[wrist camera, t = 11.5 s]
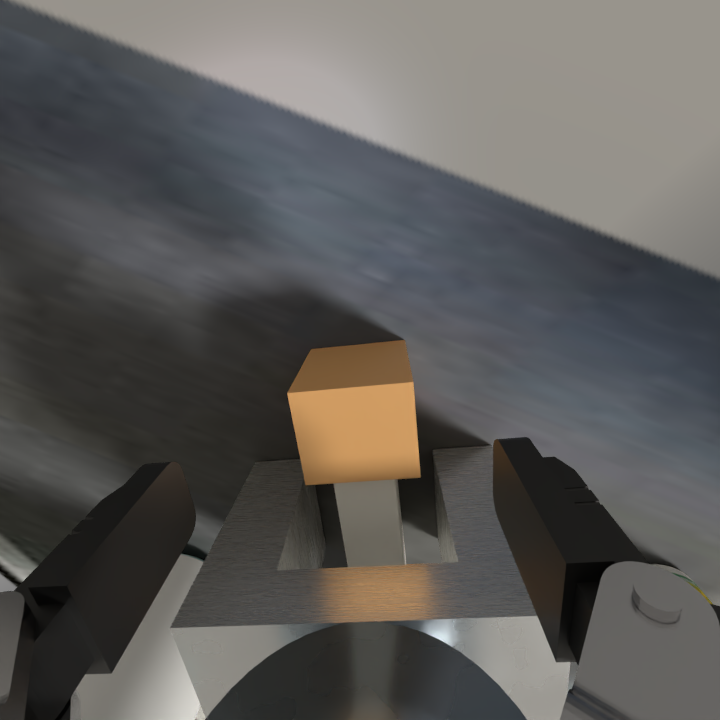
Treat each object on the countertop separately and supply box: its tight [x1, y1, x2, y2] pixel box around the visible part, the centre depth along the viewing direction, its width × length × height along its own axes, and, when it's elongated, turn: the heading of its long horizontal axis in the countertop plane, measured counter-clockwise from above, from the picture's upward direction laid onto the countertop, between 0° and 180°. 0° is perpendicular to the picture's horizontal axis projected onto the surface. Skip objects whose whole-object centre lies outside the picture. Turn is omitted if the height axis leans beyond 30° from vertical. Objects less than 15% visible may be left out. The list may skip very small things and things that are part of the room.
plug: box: [287, 340, 421, 567], centre depth 19 cm, size 4×20×5 cm, turn 7°
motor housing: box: [170, 445, 570, 720], centre depth 13 cm, size 12×6×18 cm, turn 97°
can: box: [76, 554, 204, 720], centre depth 19 cm, size 7×7×12 cm
